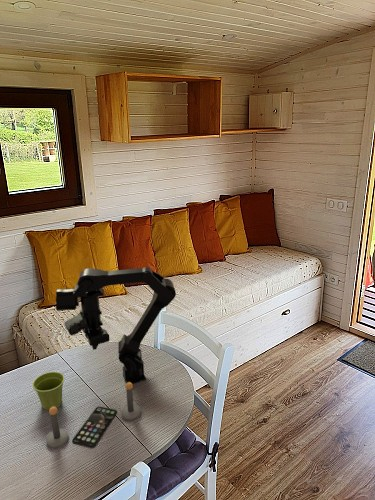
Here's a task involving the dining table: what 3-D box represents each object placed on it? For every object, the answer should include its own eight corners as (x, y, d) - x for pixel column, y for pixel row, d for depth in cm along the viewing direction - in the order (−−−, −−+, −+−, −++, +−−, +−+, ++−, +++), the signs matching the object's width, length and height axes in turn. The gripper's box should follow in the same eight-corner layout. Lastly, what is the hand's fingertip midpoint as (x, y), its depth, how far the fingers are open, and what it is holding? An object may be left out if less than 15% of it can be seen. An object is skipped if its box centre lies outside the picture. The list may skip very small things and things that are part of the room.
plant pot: (57, 416, 117) (54, 392, 114) (30, 411, 118) (26, 388, 116) (72, 395, 125) (69, 373, 123) (46, 391, 127) (43, 370, 124)
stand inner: (136, 404, 122) (134, 374, 118) (143, 416, 116) (141, 385, 113) (118, 410, 119) (116, 380, 115) (124, 423, 114) (122, 392, 110)
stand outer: (66, 428, 112) (62, 397, 108) (70, 443, 107) (66, 410, 103) (44, 436, 109) (39, 404, 106) (48, 451, 104) (42, 418, 101)
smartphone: (118, 410, 119) (94, 447, 105) (118, 412, 119) (94, 449, 105) (97, 405, 121) (70, 441, 107) (97, 407, 121) (70, 443, 107)
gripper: (59, 301, 127) (64, 341, 132) (71, 326, 112) (76, 371, 117) (92, 294, 132) (96, 333, 137) (108, 317, 116) (111, 361, 122)
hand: (94, 348), depth 128 cm, fingers closed
